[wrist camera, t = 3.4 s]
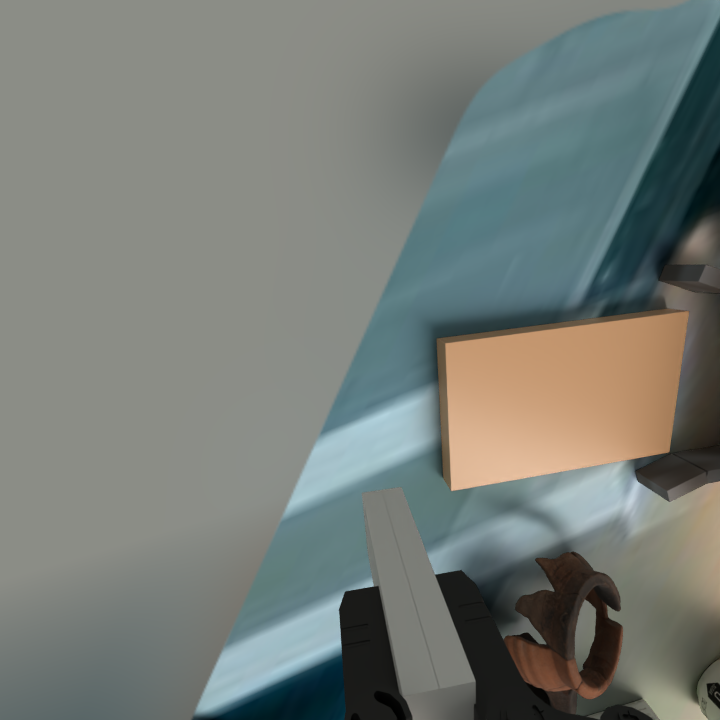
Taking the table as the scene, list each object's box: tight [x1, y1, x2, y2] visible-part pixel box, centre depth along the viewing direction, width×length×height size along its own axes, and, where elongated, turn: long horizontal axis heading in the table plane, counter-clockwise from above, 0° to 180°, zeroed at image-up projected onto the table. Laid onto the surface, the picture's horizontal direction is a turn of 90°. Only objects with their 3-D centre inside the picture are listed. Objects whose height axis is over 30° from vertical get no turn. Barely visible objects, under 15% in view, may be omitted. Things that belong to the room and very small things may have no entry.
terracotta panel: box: [437, 309, 689, 491], centre depth 24 cm, size 16×10×2 cm, turn 96°
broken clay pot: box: [504, 552, 623, 714], centre depth 26 cm, size 12×9×8 cm
